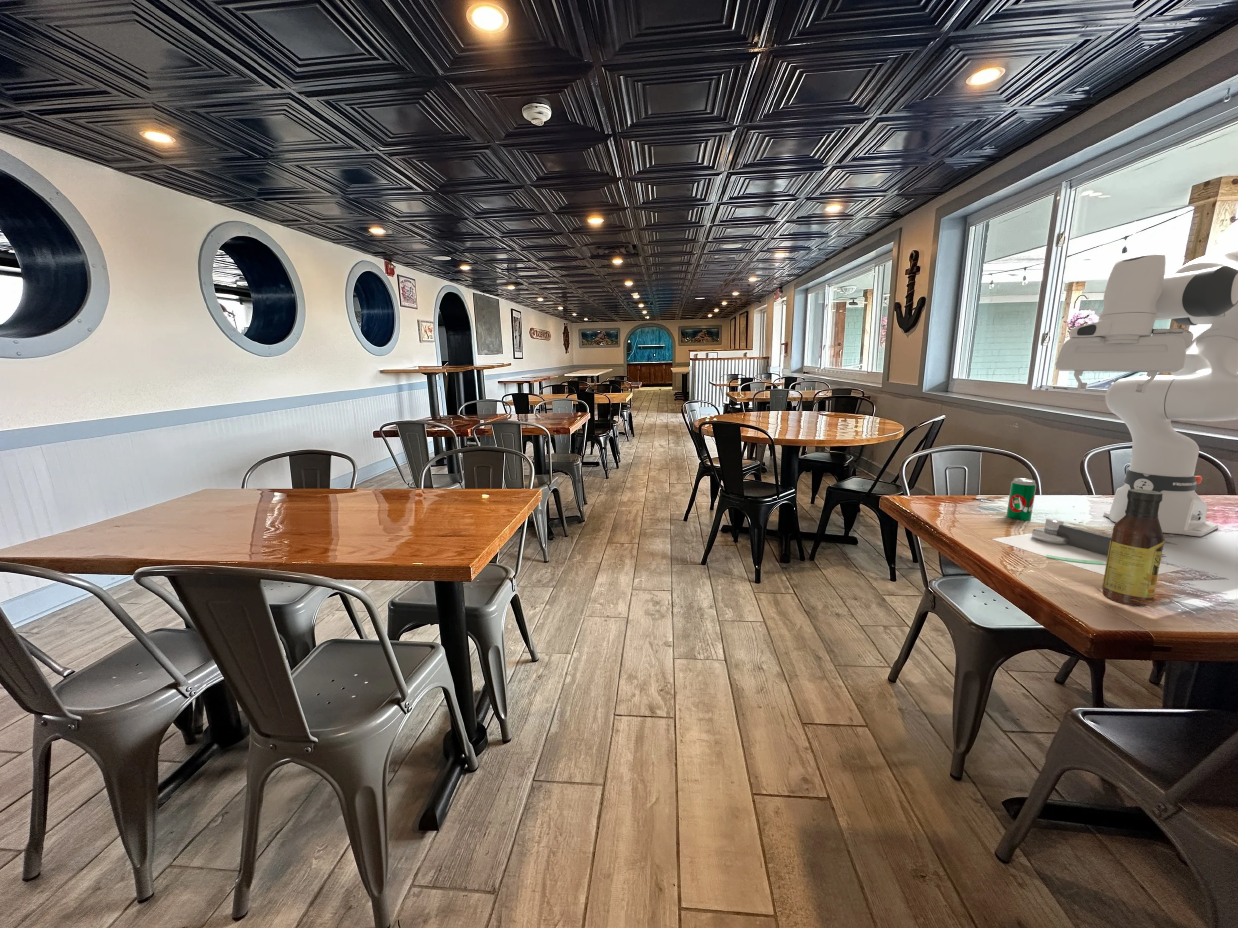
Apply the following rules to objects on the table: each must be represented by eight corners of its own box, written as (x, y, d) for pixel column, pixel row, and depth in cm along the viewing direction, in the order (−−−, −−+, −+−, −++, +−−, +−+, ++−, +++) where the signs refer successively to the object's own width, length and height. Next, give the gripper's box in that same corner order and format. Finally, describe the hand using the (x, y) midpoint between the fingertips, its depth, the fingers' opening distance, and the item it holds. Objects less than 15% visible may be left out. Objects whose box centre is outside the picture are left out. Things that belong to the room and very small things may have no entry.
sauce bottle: (1158, 611, 79) (1183, 498, 76) (1106, 602, 83) (1128, 493, 79) (1142, 596, 85) (1165, 489, 81) (1095, 588, 88) (1115, 485, 84)
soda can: (1020, 520, 129) (1027, 477, 127) (1034, 526, 124) (1042, 481, 122) (1001, 519, 129) (1007, 477, 127) (1014, 525, 124) (1021, 481, 122)
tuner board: (1044, 537, 116) (1045, 530, 115) (1181, 576, 93) (1183, 568, 93) (988, 545, 110) (989, 538, 110) (1119, 588, 88) (1121, 580, 88)
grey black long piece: (1024, 536, 111) (1027, 517, 110) (1044, 533, 113) (1047, 515, 112) (1106, 560, 97) (1110, 539, 96) (1129, 556, 99) (1133, 535, 98)
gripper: (1193, 330, 101) (1177, 395, 102) (1064, 333, 115) (1052, 390, 117) (1197, 325, 96) (1180, 392, 98) (1062, 329, 111) (1049, 388, 113)
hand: (1109, 391), depth 108 cm, fingers open, 8 cm apart
